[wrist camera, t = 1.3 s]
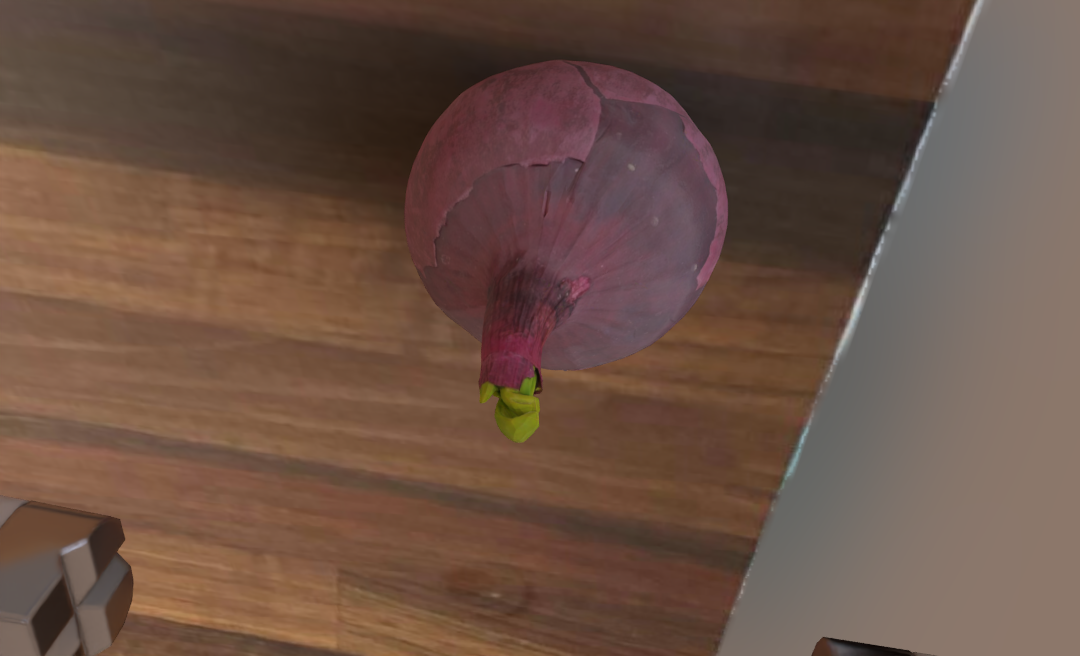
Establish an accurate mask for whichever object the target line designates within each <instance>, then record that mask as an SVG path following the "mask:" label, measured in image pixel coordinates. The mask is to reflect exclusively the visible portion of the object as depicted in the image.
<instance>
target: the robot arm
mask: <svg viewBox="0 0 1080 656" xmlns="http://www.w3.org/2000/svg"><path fill="white" fill-rule="evenodd" d="M124 541H125V537H124V533H123V529H122V525H121V521H120V519H118V518H114V517H111V516H106V515H101V514H96V513H91V512H86V511H81V510H76V509H71V508H66V507H61V506H56V505H51V504H46V503H41V502H36V501H29V500H24V499H19V498H13V497H8V496H3V495H0V656H95V655H96V654H98V653H100V652H101V651H103V650H105V649H106V648H108V647H110V646H111V645H112V643H113V642H114V640H115V639H116V637H117V635H118V634H119V632H120V630H121V629H122V627H123V625H124V623H125V620H126V617H127V614H128V611H129V608H130V605H131V602H132V596H133V576H132V570H131V566H130V565H129V564H128V563H127V562H126V561H125V560H124V559H123V558H122V557H121V556H120V555H119V554H118V553H117V551H118V549H119V548H120V547H121V545H122V544H123V542H124ZM812 656H935V655H928V654H922V653H917V652H913V653H912V652H910V651H909V650H903V649H896V648H890V647H884V646H877V645H871V644H864V643H858V642H852V641H846V640H839V639H833V638H826V637H823V638H821V639H820V641H819V642H817V644H816V646H815V649H814V651H813V653H812Z"/></svg>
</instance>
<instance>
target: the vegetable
mask: <svg viewBox="0 0 1080 656" xmlns="http://www.w3.org/2000/svg"><path fill="white" fill-rule="evenodd" d="M404 217H405V231H406V237H407V243H408V247H409V251H410V254H411V257H412V260H413V262H414V264H415V267H416V269H417V271H418V274H419V276H420V278H421V280H422V282H423V284H424V286H425V288H426V290H427V291H428V293H429V294H430V296H431V297H432V299H433V300H434V302H435V303H436V305H437V306H438V307H439V308H440V309H441V310H442V311H443V312H444V313H445V314H446V315H447V316H448V317H449V318H450V319H452V320H453V321H454V322H456V323H457V324H459V325H460V326H462V327H463V328H464V329H465V330H467V331H468V332H469V333H470V334H471V335H473V336H474V337H475V338H476V339H478V340H479V341H480V342H481V343H482V347H481V373H480V379H479V389H480V403H484V402H486V401H487V400H488V399H489V398H490V397H491V396H492V394H493V396H496V397H498V398H499V401H498V403H497V405H496V409H495V419H496V422H497V425H498V427H499V429H500V430H501V432H502V433H503V434H504V435H505V436H506V437H507V438H508V439H510V440H512V441H514V442H524V441H525V440H527V439H528V438H529V437H530V436H531V435H532V434H533V433H534V432H535V430H536V429H537V428H538V427H539V414H538V413H539V411H540V407H539V399H538V398H536V397H534V396H533V394H539V393H541V392H542V390H543V388H542V382H543V380H542V375H541V371H540V370H541V368H544V369H550V370H564V371H567V370H573V371H575V370H582V369H586V368H591V367H596V366H599V365H602V364H606V363H609V362H612V361H616V360H619V359H622V358H625V357H627V356H630V355H632V354H634V353H636V352H638V351H640V350H642V349H644V348H646V347H648V346H650V345H651V344H653V343H654V342H655V341H657V340H658V339H659V338H661V337H662V336H663V335H664V334H665V333H666V332H668V331H669V330H670V329H671V328H672V327H673V326H674V325H675V324H676V323H677V322H678V321H679V320H681V319H682V318H683V317H684V315H685V314H686V313H687V312H688V311H689V309H690V308H691V307H692V306H693V305H694V303H695V302H696V300H697V299H698V297H699V296H700V294H701V292H702V291H703V289H704V287H705V285H706V283H707V282H708V280H709V277H710V275H711V273H712V271H713V269H714V267H715V265H716V263H717V261H718V259H719V256H720V253H721V249H722V246H723V243H724V239H725V234H726V229H727V220H728V200H727V194H726V187H725V182H724V179H723V176H722V172H721V169H720V166H719V163H718V160H717V157H716V155H715V153H714V151H713V149H712V147H711V145H710V143H709V142H708V141H707V139H706V138H705V137H704V136H703V135H702V133H701V132H700V131H699V130H698V128H697V127H696V125H695V124H694V123H693V121H692V120H691V118H690V117H689V115H688V114H687V113H686V111H685V110H684V109H683V108H682V107H681V106H680V104H679V103H678V102H677V101H676V100H675V99H674V98H673V97H672V95H670V94H669V93H667V92H666V91H664V90H663V89H662V88H660V87H659V86H657V85H656V84H654V83H652V82H650V81H649V80H647V79H645V78H643V77H641V76H639V75H637V74H635V73H633V72H630V71H627V70H624V69H620V68H617V67H614V66H610V65H604V64H598V63H592V62H584V61H567V60H563V59H561V60H551V61H545V62H539V63H535V64H531V65H526V66H522V67H518V68H514V69H511V70H508V71H505V72H502V73H499V74H496V75H493V76H490V77H488V78H486V79H484V80H482V81H481V82H479V83H477V84H475V85H473V86H471V87H470V88H468V89H467V90H466V91H464V92H463V93H461V94H460V95H459V96H458V97H457V98H456V99H455V100H454V101H453V102H452V103H451V105H450V106H449V107H448V108H447V109H446V110H445V111H444V112H443V114H442V115H441V116H440V117H439V118H438V119H437V121H436V122H435V123H434V125H433V126H432V127H431V129H430V130H429V132H428V134H427V136H426V138H425V139H424V141H423V143H422V145H421V148H420V150H419V152H418V154H417V156H416V159H415V161H414V163H413V166H412V170H411V173H410V177H409V180H408V185H407V190H406V200H405V212H404Z"/></svg>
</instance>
